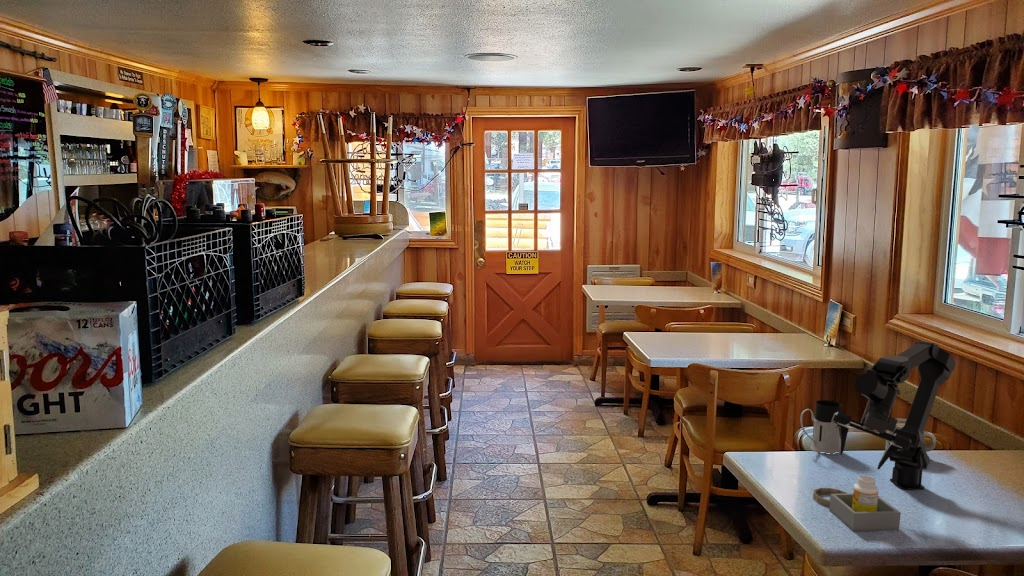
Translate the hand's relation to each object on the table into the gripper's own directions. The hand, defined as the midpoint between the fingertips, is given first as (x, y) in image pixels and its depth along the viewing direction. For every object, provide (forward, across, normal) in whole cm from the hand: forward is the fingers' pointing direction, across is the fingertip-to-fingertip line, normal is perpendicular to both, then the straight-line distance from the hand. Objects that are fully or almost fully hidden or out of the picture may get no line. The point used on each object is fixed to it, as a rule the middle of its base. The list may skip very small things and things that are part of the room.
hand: (859, 461), depth 195 cm
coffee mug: (-9, +16, +47) cm, 51 cm away
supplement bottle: (+13, +5, -4) cm, 15 cm away
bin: (+13, +5, -4) cm, 15 cm away
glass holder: (0, -8, +42) cm, 43 cm away
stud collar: (+12, -2, +5) cm, 13 cm away
